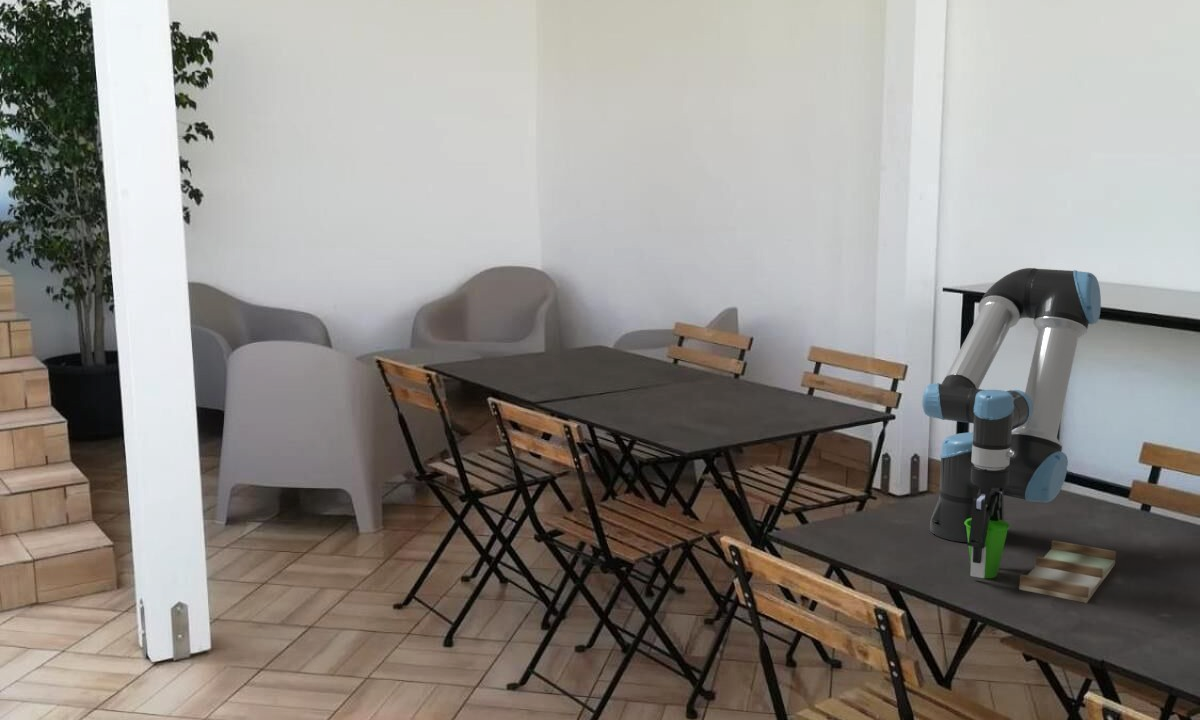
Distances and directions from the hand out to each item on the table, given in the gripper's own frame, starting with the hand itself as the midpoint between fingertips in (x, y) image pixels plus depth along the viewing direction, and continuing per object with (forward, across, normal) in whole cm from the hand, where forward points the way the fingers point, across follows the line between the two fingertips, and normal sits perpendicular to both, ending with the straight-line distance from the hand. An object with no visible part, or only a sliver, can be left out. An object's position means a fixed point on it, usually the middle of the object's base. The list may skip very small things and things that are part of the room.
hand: (984, 569), depth 252 cm
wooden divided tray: (+1, +8, -15) cm, 17 cm away
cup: (+1, 0, 0) cm, 1 cm away
